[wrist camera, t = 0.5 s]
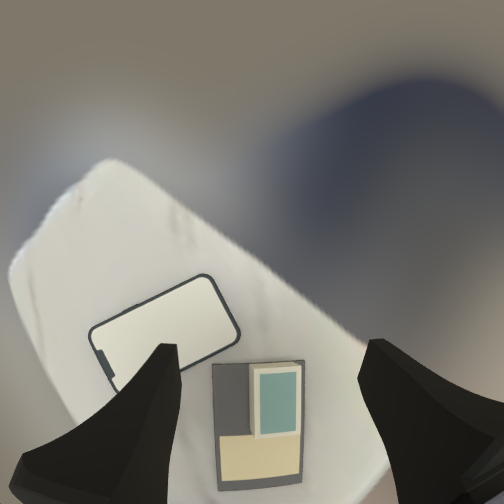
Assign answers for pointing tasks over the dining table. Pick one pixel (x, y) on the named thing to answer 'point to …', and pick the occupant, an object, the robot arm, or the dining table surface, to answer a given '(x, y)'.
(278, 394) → the card box
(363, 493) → the dining table surface
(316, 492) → the dining table surface
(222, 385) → the mat
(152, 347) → the phone case
